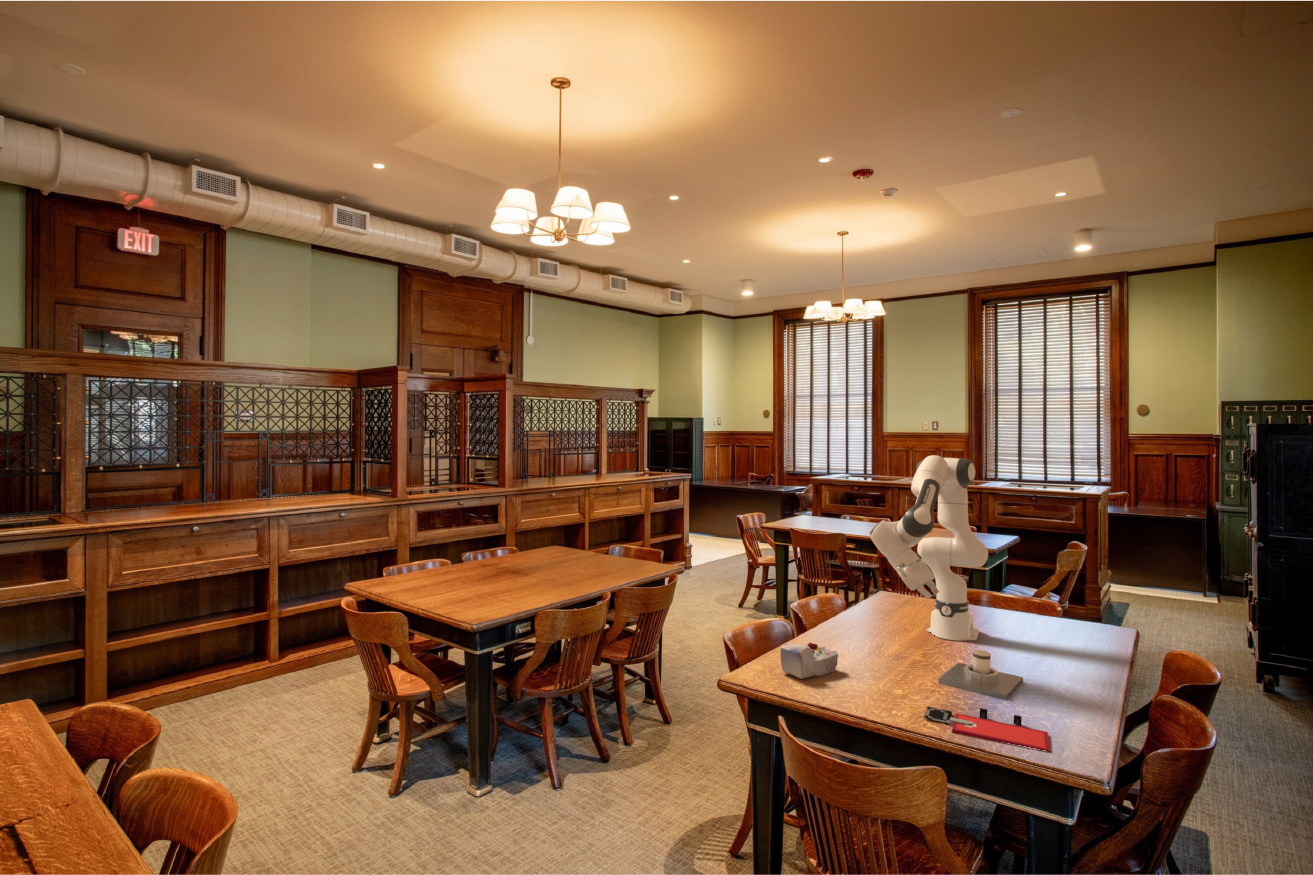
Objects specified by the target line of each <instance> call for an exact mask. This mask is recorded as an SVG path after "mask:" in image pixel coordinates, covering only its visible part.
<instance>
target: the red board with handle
mask: <svg viewBox="0 0 1313 875" xmlns="http://www.w3.org/2000/svg"><path fill="white" fill-rule="evenodd" d="M952 713H953V711H951V710H948V709H942V708H936V707H932V706H927V708H926V710H925V714H924V716H923V717H924V719H928V720H934V721H938V722H943V723H947V724H949V726H952V728H951V729H952V730H951V733H952V734H957V735H961V734H962V736H966V735H967V736H968V737H971V736H972V737H971V738H976V737H978V738H977V739H981V738H982V740H985V739H987V740H986V741H990V740H991V742H995V741H997V742H996V743H1000V742H1004V743H1003V744H1005V743H1010V744H1015V745H1021V746H1026V747H1031V748H1036V749H1040V750H1046V751H1048V752H1047V753H1049V752H1051V750H1050V742H1049V741H1050V740H1049V732H1048V731H1045V730H1040V729H1035V728H1029V727H1026V726H1025V727H1024V726H1022V718H1023V717H1022V715H1018V714H1013V724H1010V723H1005V722H1001V721H995V720H991V719H988V709H987V708H982V707H979V717H976V716H971V715H967V714H961V713H958V712H956V713H955V714H954V717H952ZM1014 724H1016V725H1014ZM1020 725H1021V726H1020ZM1010 744H1009V745H1010ZM1015 745H1014V746H1015Z"/></svg>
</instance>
